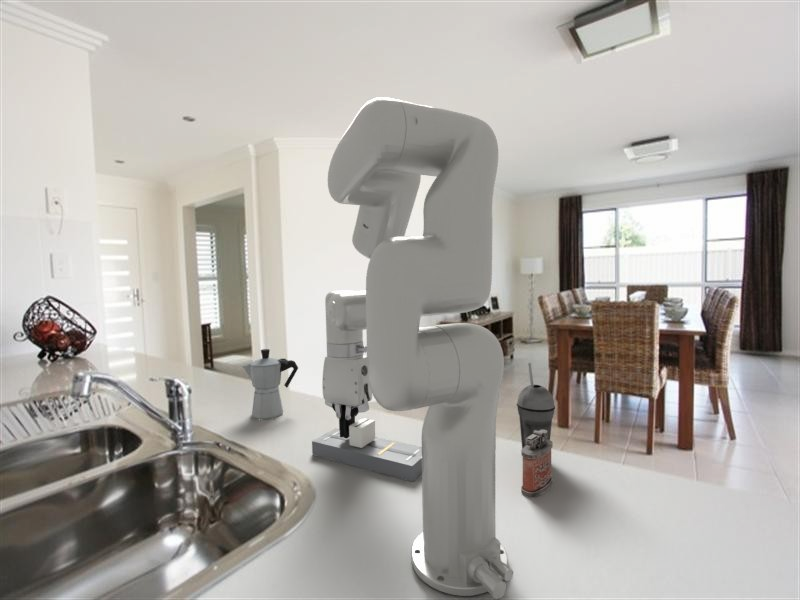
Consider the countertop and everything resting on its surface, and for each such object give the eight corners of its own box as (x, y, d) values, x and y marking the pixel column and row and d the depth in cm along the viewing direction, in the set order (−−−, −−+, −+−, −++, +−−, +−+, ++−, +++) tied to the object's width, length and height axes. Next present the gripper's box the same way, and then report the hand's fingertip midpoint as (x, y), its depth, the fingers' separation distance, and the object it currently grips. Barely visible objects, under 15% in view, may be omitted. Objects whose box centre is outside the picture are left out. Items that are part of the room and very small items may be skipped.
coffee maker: (240, 422, 107) (237, 353, 106) (245, 411, 115) (242, 347, 114) (299, 416, 110) (297, 350, 109) (299, 406, 119) (297, 344, 118)
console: (431, 463, 82) (431, 448, 82) (412, 481, 75) (412, 465, 75) (336, 441, 94) (335, 427, 94) (312, 454, 87) (311, 440, 87)
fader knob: (375, 438, 86) (374, 420, 86) (361, 447, 82) (361, 428, 82) (363, 436, 88) (363, 417, 88) (349, 445, 84) (349, 425, 83)
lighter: (538, 475, 76) (539, 423, 76) (556, 482, 74) (557, 428, 73) (516, 492, 71) (516, 436, 70) (535, 500, 68) (535, 441, 68)
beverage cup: (557, 472, 78) (558, 368, 76) (517, 469, 79) (518, 367, 78) (551, 455, 85) (552, 359, 83) (515, 452, 86) (515, 358, 85)
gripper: (385, 349, 85) (386, 435, 86) (328, 344, 92) (330, 423, 94) (364, 356, 79) (366, 449, 80) (305, 350, 86) (308, 435, 87)
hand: (347, 435), depth 87 cm, fingers closed
